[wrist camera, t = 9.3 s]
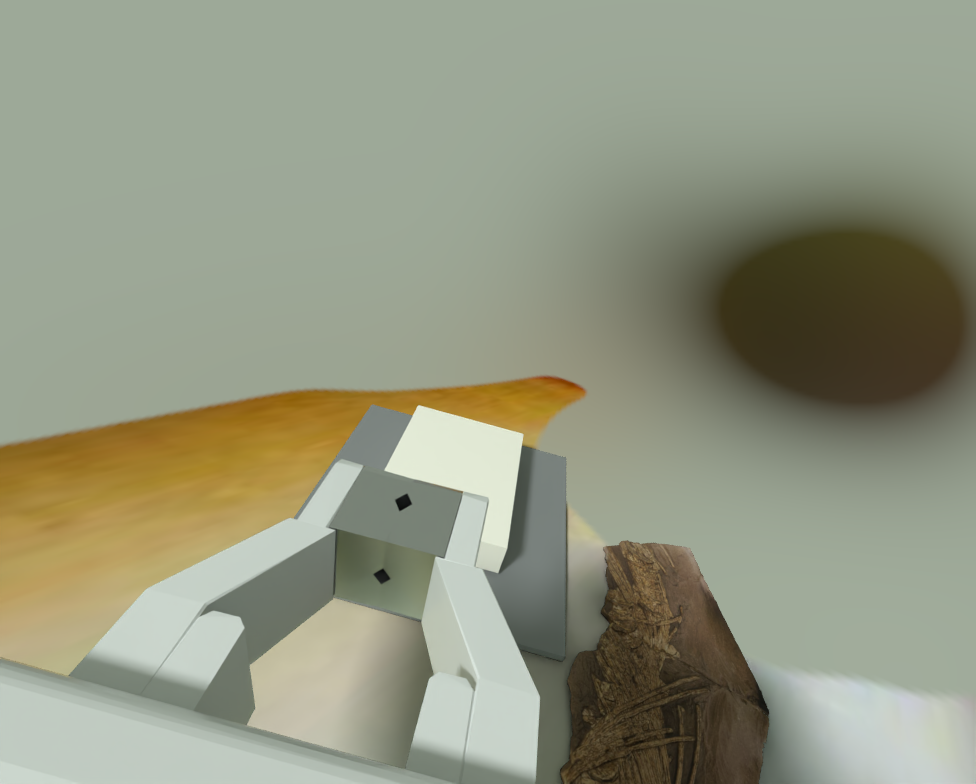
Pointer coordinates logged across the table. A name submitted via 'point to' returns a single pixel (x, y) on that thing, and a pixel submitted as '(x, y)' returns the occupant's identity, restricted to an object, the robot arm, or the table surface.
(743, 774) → the wooden fragment
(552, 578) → the mat
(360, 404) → the table surface
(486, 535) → the tile
